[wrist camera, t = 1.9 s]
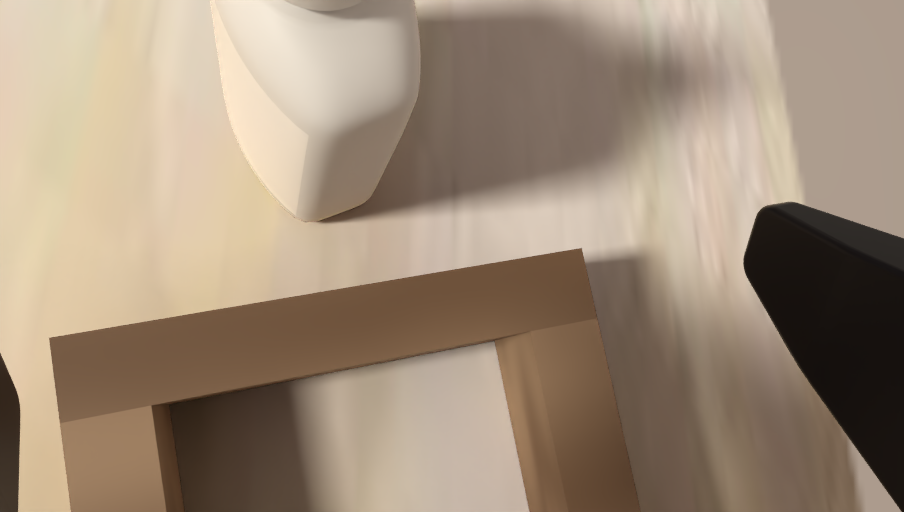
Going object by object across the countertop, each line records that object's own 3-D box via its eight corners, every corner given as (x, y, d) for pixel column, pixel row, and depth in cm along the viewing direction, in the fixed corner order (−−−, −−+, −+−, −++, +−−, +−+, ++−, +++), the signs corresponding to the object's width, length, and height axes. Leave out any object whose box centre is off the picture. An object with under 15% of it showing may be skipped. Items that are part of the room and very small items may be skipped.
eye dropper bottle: (199, 213, 20) (107, -42, 8) (229, 14, 21) (183, -448, 10) (367, 234, 21) (490, 31, 9) (387, 43, 22) (518, -347, 10)
